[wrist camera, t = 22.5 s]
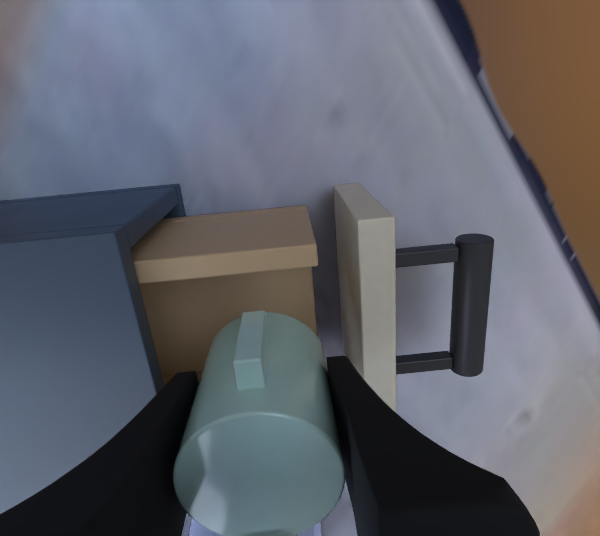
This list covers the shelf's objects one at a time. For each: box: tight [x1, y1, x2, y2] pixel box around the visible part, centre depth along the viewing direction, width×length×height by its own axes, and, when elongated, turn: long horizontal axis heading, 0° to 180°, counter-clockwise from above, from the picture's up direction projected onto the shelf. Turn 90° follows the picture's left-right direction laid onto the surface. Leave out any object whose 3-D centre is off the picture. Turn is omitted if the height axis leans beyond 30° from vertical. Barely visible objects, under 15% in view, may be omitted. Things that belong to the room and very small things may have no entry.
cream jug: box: [173, 310, 346, 536], centre depth 12 cm, size 6×4×5 cm
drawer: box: [130, 183, 494, 412], centre depth 17 cm, size 16×10×6 cm, turn 95°
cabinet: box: [0, 184, 186, 514], centre depth 17 cm, size 13×11×8 cm
